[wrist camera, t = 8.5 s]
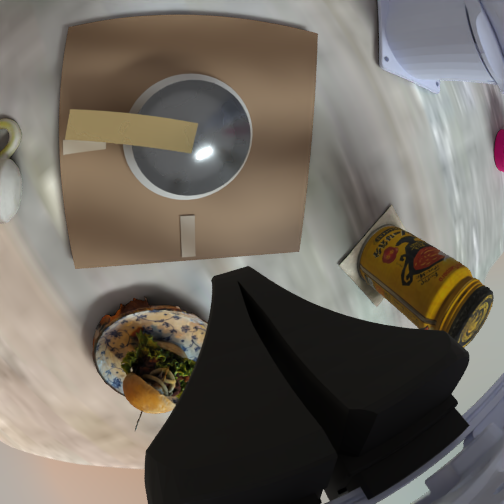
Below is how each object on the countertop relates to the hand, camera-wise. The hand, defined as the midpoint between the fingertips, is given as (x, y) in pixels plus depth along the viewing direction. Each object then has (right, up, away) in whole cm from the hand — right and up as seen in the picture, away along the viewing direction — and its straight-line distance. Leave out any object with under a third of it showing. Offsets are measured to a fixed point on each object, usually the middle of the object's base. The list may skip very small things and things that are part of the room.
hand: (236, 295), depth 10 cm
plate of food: (-7, -7, +13) cm, 16 cm away
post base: (-3, +9, +6) cm, 11 cm away
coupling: (-4, +8, +4) cm, 10 cm away
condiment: (+13, +1, +16) cm, 20 cm away
